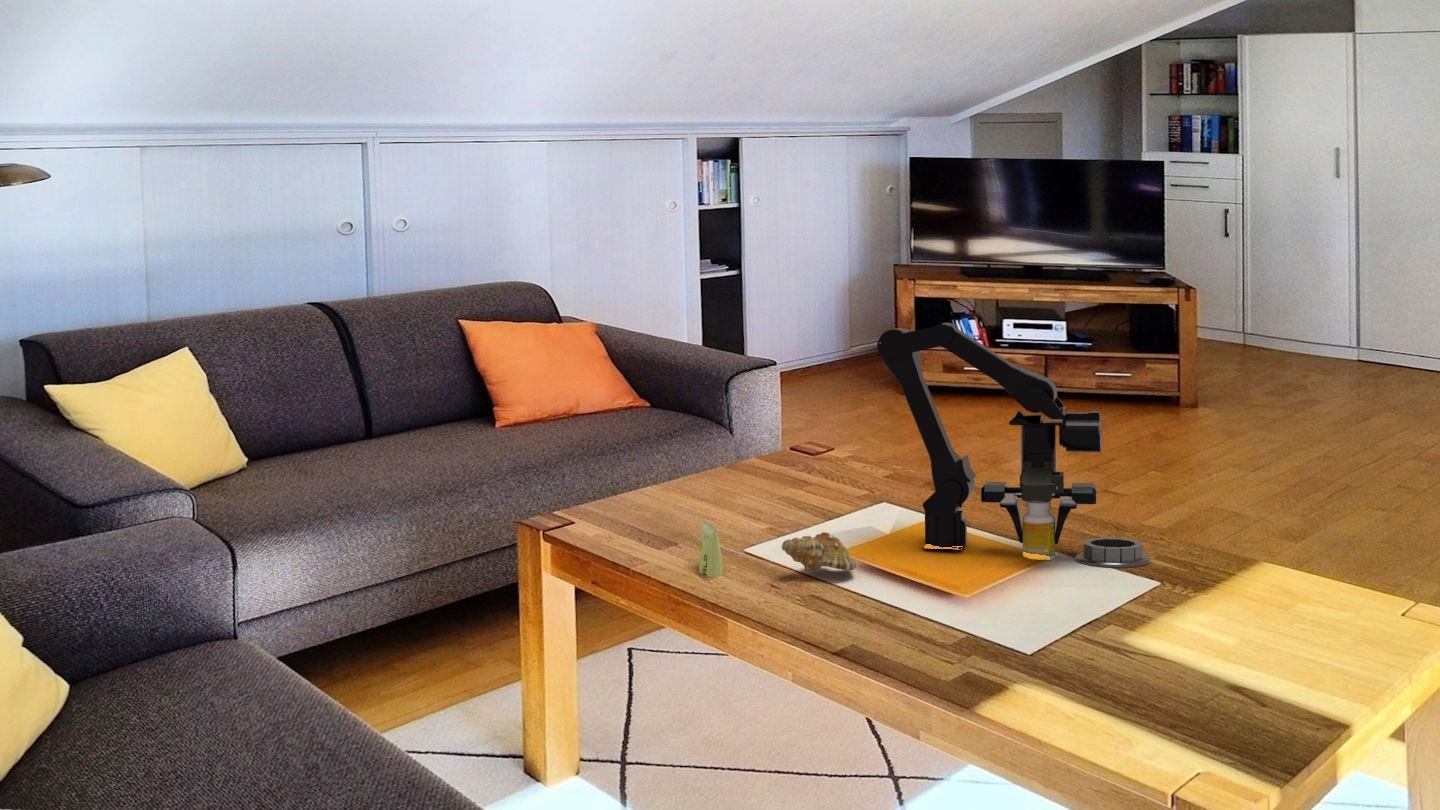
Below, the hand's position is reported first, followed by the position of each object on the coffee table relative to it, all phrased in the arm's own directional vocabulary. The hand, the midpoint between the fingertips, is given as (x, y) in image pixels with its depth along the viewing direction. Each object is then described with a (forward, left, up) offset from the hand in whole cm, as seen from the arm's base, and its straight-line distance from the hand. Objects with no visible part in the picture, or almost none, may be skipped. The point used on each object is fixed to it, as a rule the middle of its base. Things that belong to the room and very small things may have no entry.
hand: (1038, 543), depth 228 cm
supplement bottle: (0, 0, -3) cm, 3 cm away
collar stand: (+12, 0, -2) cm, 12 cm away
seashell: (-32, -17, -4) cm, 36 cm away
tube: (-52, -19, -14) cm, 58 cm away
